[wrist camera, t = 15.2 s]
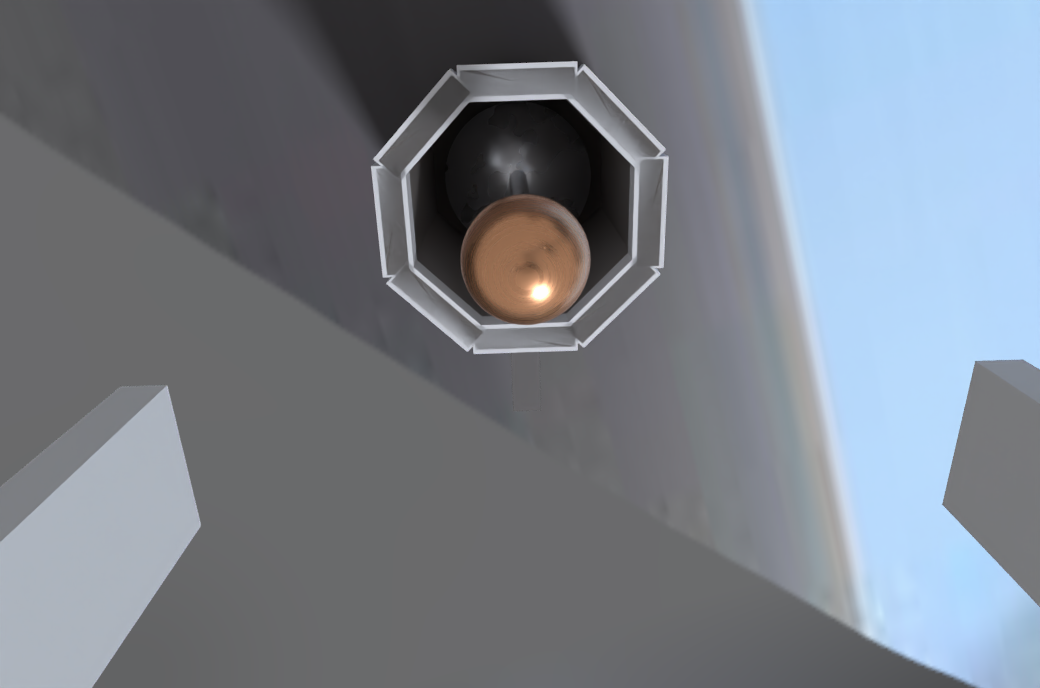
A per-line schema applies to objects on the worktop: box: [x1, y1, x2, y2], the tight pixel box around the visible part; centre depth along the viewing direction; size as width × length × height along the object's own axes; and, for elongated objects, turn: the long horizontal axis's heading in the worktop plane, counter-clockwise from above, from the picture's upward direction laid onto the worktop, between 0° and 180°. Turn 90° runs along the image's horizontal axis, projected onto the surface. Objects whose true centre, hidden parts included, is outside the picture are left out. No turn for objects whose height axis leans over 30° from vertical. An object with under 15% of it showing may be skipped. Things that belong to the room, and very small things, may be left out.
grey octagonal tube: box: [371, 61, 669, 411], centre depth 38 cm, size 16×12×14 cm
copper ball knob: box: [445, 101, 591, 325], centre depth 32 cm, size 8×8×21 cm
